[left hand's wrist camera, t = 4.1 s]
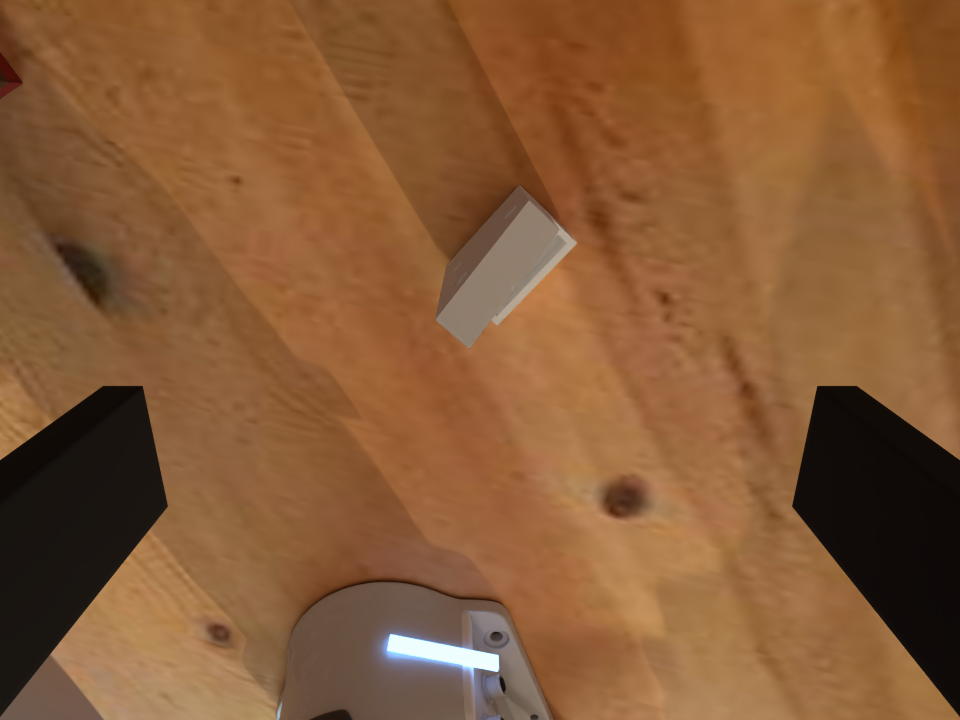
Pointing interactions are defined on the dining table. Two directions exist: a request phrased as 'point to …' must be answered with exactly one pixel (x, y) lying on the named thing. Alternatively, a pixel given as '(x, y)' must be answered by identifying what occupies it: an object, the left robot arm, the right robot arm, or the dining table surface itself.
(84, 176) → the dining table surface
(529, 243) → the white angled block
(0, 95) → the chest
